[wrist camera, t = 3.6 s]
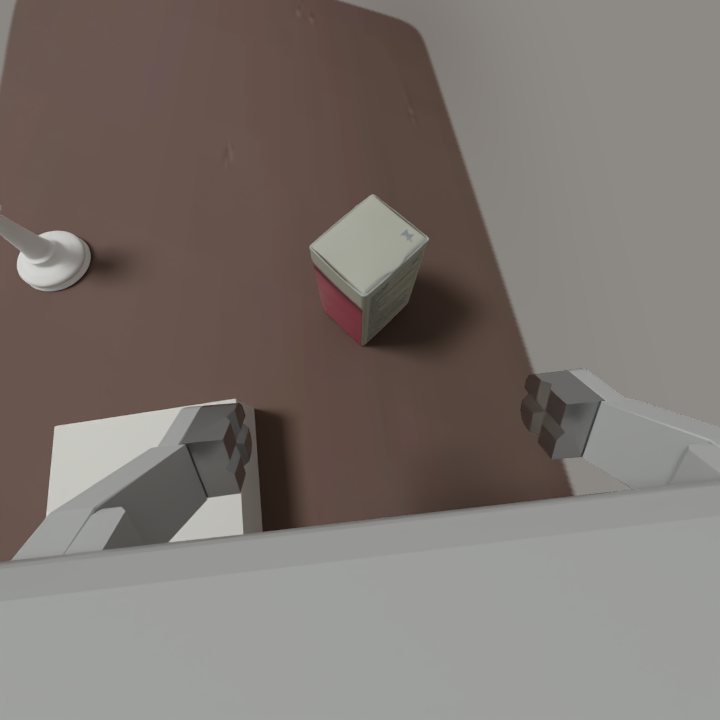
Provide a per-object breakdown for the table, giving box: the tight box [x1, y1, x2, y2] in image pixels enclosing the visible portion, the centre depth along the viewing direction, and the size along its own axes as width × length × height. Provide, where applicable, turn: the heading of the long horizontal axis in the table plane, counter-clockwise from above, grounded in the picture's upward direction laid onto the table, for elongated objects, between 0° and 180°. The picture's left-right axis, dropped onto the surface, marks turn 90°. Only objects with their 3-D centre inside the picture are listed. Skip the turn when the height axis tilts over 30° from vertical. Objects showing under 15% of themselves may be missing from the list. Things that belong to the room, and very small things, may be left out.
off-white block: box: [46, 399, 263, 543], centre depth 20 cm, size 10×10×4 cm
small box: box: [310, 195, 429, 346], centre depth 22 cm, size 5×4×8 cm
